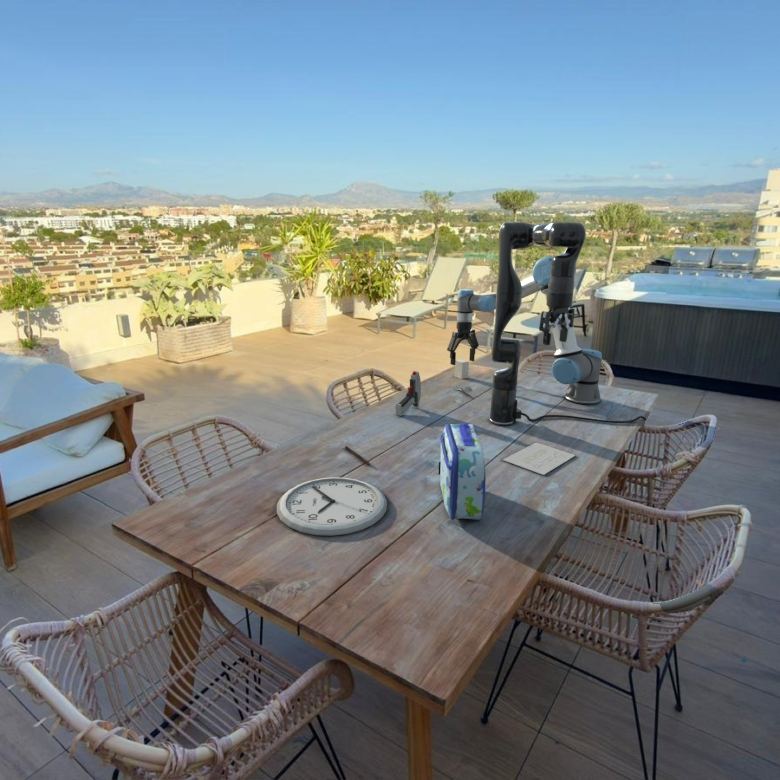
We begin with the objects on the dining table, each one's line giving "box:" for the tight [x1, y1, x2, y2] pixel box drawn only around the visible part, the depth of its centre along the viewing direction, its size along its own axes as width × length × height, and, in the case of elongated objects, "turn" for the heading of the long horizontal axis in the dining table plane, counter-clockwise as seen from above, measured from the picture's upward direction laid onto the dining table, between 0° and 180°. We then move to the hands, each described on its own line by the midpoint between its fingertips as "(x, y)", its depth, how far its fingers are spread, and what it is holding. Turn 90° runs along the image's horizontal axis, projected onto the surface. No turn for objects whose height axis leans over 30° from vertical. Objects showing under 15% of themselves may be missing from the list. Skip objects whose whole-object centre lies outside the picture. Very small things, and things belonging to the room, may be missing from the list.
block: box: [454, 359, 470, 380], centre depth 266 cm, size 4×5×9 cm
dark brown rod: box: [344, 445, 370, 465], centre depth 173 cm, size 15×1×1 cm, turn 34°
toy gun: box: [395, 370, 422, 417], centre depth 214 cm, size 2×16×15 cm
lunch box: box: [438, 422, 486, 521], centre depth 142 cm, size 26×11×21 cm, turn 179°
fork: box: [453, 383, 470, 397], centre depth 242 cm, size 3×16×2 cm, turn 16°
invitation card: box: [502, 442, 577, 476], centre depth 174 cm, size 21×1×15 cm
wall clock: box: [276, 476, 388, 537], centre depth 142 cm, size 30×2×30 cm
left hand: (554, 343), depth 164 cm, fingers open, 8 cm apart
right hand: (462, 362), depth 265 cm, fingers open, 13 cm apart
